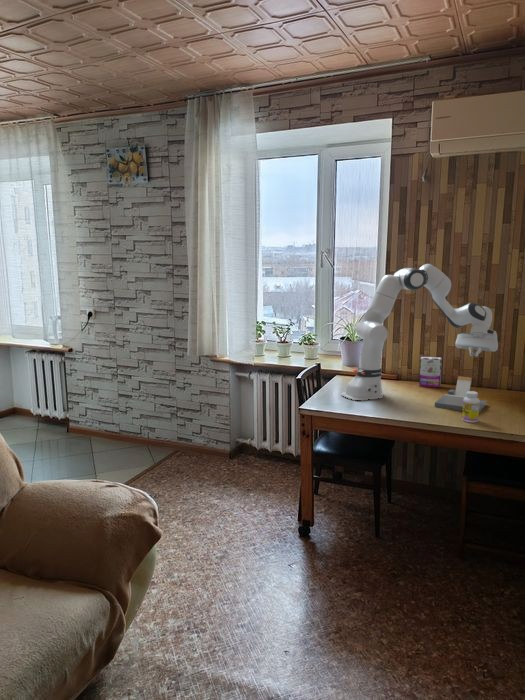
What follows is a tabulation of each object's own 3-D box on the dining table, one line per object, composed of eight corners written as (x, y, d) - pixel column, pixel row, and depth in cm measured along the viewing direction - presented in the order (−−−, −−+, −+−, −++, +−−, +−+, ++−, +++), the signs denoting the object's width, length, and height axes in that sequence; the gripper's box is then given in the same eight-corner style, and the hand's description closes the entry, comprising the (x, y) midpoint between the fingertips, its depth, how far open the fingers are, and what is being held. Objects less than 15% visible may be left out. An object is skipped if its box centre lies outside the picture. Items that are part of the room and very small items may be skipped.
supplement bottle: (459, 418, 222) (460, 390, 220) (473, 418, 223) (475, 390, 220) (466, 423, 215) (468, 394, 213) (481, 422, 216) (483, 394, 214)
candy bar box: (440, 386, 278) (442, 357, 275) (440, 388, 274) (441, 359, 271) (419, 384, 283) (421, 356, 280) (418, 386, 278) (420, 357, 275)
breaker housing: (478, 413, 229) (479, 398, 228) (434, 406, 240) (435, 392, 239) (486, 405, 242) (487, 391, 240) (443, 398, 253) (444, 385, 252)
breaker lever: (466, 400, 237) (471, 377, 240) (453, 398, 241) (457, 376, 244) (467, 402, 239) (472, 378, 242) (454, 400, 243) (458, 377, 245)
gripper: (457, 328, 264) (451, 349, 258) (499, 331, 252) (494, 353, 246) (459, 336, 268) (453, 356, 262) (500, 339, 257) (495, 361, 251)
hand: (473, 355), depth 254 cm, fingers closed
